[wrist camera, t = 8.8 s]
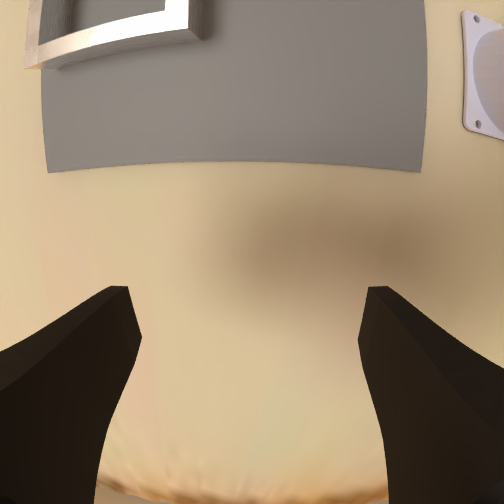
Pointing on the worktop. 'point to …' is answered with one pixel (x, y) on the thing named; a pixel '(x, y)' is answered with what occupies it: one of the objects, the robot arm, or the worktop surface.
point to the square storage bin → (104, 33)
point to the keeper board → (248, 88)
